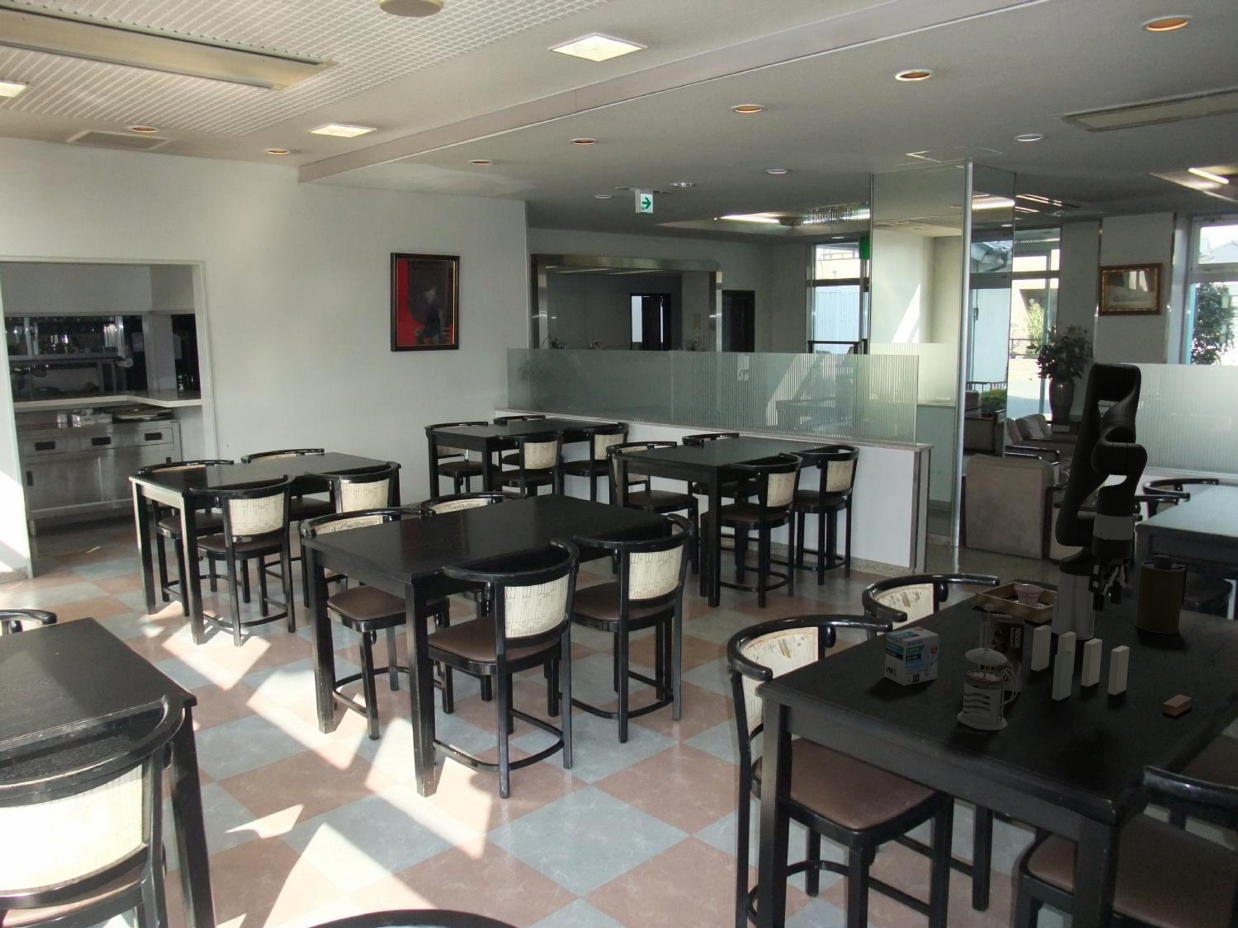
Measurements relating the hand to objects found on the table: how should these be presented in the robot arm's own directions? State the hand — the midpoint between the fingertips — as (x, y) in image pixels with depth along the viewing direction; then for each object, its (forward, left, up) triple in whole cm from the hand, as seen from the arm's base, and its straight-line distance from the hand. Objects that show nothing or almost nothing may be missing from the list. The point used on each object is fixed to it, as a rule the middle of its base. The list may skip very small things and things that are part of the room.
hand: (1107, 607), depth 203 cm
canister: (-13, +60, -21) cm, 65 cm away
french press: (-8, -32, -21) cm, 39 cm away
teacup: (-44, +49, -21) cm, 69 cm away
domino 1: (-17, +6, -21) cm, 27 cm away
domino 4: (+1, +6, -21) cm, 21 cm away
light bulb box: (-32, -24, -21) cm, 45 cm away
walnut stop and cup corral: (-20, +30, -20) cm, 41 cm away
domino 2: (-11, +6, -21) cm, 24 cm away
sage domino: (-5, -7, -21) cm, 22 cm away
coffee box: (-17, -12, -21) cm, 29 cm away
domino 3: (-5, +6, -21) cm, 22 cm away
